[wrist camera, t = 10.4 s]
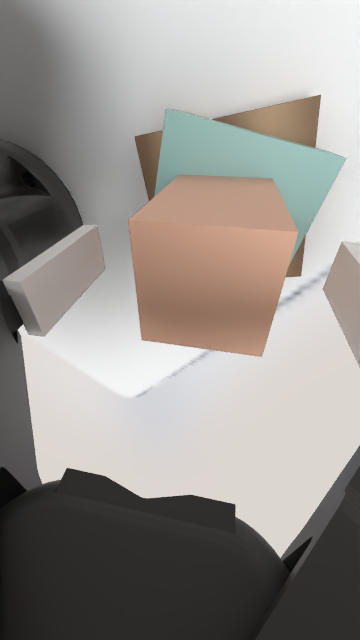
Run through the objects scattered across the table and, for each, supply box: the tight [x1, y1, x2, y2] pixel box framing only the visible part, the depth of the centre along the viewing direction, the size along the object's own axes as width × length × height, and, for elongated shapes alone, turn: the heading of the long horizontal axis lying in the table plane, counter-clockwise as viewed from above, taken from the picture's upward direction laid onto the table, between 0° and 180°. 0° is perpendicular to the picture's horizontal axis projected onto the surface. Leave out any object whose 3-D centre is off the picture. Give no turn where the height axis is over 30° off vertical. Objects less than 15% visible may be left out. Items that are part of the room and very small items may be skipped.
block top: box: [154, 109, 346, 264], centre depth 20 cm, size 11×11×4 cm
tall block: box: [128, 175, 298, 357], centre depth 15 cm, size 6×6×10 cm
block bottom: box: [135, 95, 321, 277], centre depth 24 cm, size 13×13×4 cm
